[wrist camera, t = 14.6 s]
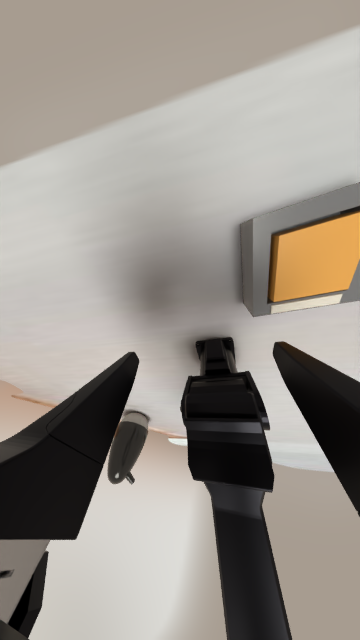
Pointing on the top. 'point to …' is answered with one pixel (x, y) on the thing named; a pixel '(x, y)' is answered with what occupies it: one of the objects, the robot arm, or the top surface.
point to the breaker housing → (258, 251)
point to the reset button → (314, 257)
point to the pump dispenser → (127, 447)
